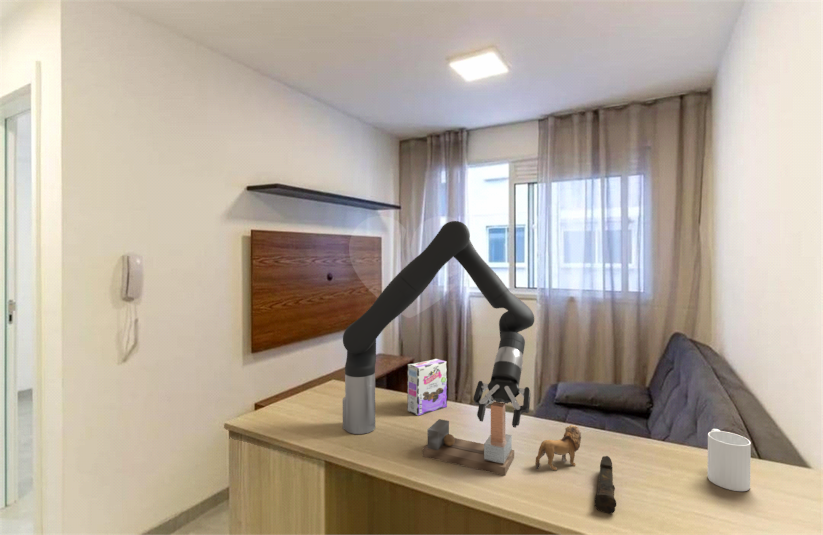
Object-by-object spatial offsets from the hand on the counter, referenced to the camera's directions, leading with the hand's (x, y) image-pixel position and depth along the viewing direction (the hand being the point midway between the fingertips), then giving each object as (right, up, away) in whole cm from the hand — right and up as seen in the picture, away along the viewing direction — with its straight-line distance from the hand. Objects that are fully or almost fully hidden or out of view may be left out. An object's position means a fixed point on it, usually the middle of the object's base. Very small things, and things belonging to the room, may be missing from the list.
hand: (497, 423), depth 103 cm
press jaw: (+1, -9, +1) cm, 9 cm away
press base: (-7, -11, +5) cm, 13 cm away
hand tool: (+22, -11, -11) cm, 27 cm away
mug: (+53, -11, -6) cm, 54 cm away
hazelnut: (-12, -9, +7) cm, 16 cm away
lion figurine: (+16, -11, +1) cm, 19 cm away
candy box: (-16, -10, +40) cm, 44 cm away
